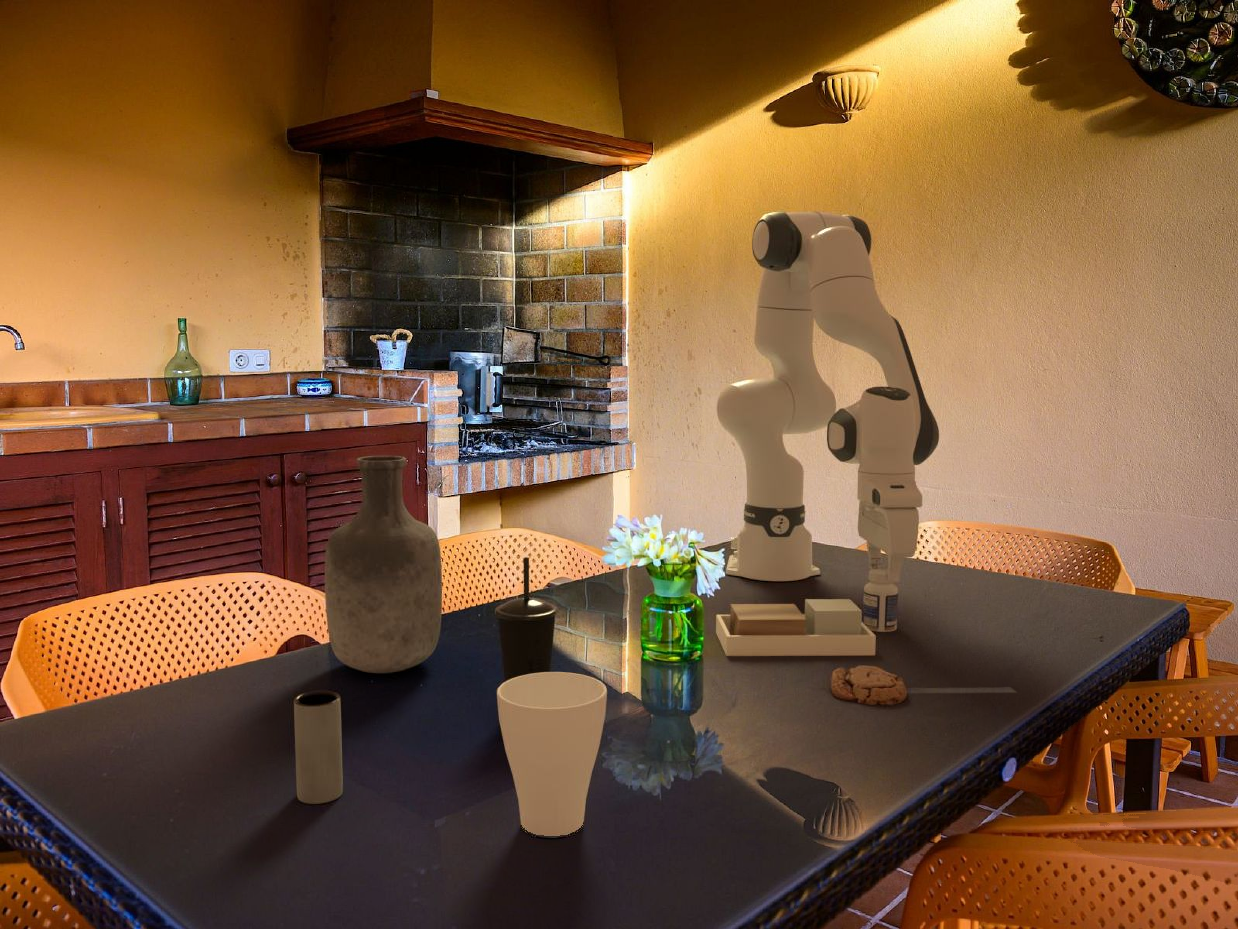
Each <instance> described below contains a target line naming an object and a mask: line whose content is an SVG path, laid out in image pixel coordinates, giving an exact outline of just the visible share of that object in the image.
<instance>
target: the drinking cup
mask: <svg viewBox="0 0 1238 929" xmlns="http://www.w3.org/2000/svg"><path fill="white" fill-rule="evenodd" d="M558 610H559V609H558V607H557V606H556V605H555V604H553V603H550V602H547V601H545V600H544V599H541V598H535V597H530V557H526V556H525V557H523V597H518V598H515V599H512V600H509V601H507V602H505V603H502V604H500V605H498V606H497V607H496V608H495V611H494V613H495V615H496V616H497V623H498V632H499V642H500V649H501V650H500V651H501V660H502V661H501V664H502V670H503V672H502V673H503V680H504V682H506V681H508V680H510V679H512V678H515V677H518V676H522V675H527V674H533V673H542V672H551V670H552V669H551V668H552V659H553V658H552V656H553V647H554V636H555V635H554V634H555V624H556V623H555V622H556V616H557V614H558ZM504 682H503V683H504Z"/></svg>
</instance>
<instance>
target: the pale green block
mask: <svg viewBox="0 0 1238 929" xmlns="http://www.w3.org/2000/svg"><path fill="white" fill-rule="evenodd" d="M804 614H805V618H806V619H807V620H806V635H861V622H863V610H861V609H860V608H859V607H858V605H857V604H856V603H855V602H853V601H852V599H849V598H836V599H835V598H834V599H833V598H831V599H830V598H829V599H827V598H825V599H824V598H821V599H820V598H815V599H813V598H809V599H808V598H805V599H804Z"/></svg>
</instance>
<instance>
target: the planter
mask: <svg viewBox="0 0 1238 929" xmlns="http://www.w3.org/2000/svg"><path fill="white" fill-rule="evenodd" d="M341 708H342V707H341V696H340V694H339V693H337V692H334V691H330V690H316V691H314V690H313V691H309V692H306V693H302V694H298V695H297V696H296V697H295V698H294V700H293V711H294V712H293V713H294V715H293V718H294V721H293V722H294V743H295V744H294V748H295V774H296V776H295V778H296V779H295V780H296V794H297V795H296V797H297V799H298V801H300V802H302V803H304V804H310V805H316V804H317V805H318V804H326V803H329V802H332V801H334V800H337V799H339V798H340V797H341V796H342V794H343V792H344V790H343V786H344V784H343V779H344V778H343V748H342V746H343V745H342V744H343V743H342V741H343V740H342V709H341Z"/></svg>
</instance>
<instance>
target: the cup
mask: <svg viewBox="0 0 1238 929" xmlns="http://www.w3.org/2000/svg"><path fill="white" fill-rule="evenodd" d="M607 695H608V690H607V686H606V685H605V683H603V681H601V680H598V679H597V678H595V677H592V676H588V675H585V674H581V673H573V672H563V671H550V672H542V673H533V674H527V675H522V676H518V677H515V678H512V679H510V680H508V681H506V682H502V683H501V684H500V686H498V688H497V689H496V699H497V711H498V721H499V725H500V730H501V731H500V732H501V736H502V740H503V744H504V746H503V747H504V750H505V753H506V757H507V760H508V761H507V762H508V764H509V767H510V770H511V774H512V778H513V782H514V786H515V787H514V788H515V791H516V796H517V800H518V807H519V808H518V809H519V818H520V825H522V827H523V828H525V830H527V831H528V832H531V833H533V834H536V835H544V836H560V835H568V834H570V833H572V832H575V831H576V830H578V829H579V828H581V826H582V825H583V826H584V824H583V822H585V813H586V803H587V802H586V801H587V796H588V792H589V787H590V782H591V778H592V772H593V769H594V766H595V763H596V759H597V756H598V752H599V748H600V744H601V739H602V735H603V730H604V729H603V728H604V724H605V718H606V713H607V712H606V709H607V698H608V696H607ZM583 826H582V827H583ZM522 827H521V828H522ZM523 828H522V829H523ZM581 829H582V828H581Z"/></svg>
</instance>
